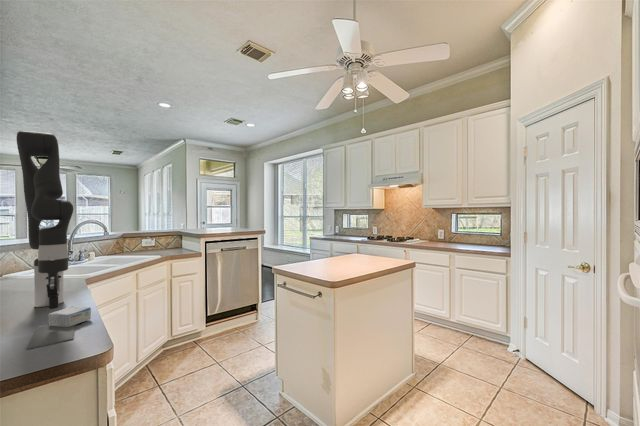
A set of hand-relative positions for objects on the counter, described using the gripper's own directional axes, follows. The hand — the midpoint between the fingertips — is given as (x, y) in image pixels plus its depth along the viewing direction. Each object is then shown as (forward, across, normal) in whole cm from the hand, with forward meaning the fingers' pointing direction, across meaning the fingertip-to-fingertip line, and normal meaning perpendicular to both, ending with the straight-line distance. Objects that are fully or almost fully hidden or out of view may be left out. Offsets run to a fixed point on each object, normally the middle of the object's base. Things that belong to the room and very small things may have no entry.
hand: (53, 307), depth 97 cm
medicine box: (+4, -4, +1) cm, 6 cm away
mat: (+7, +7, 0) cm, 10 cm away
